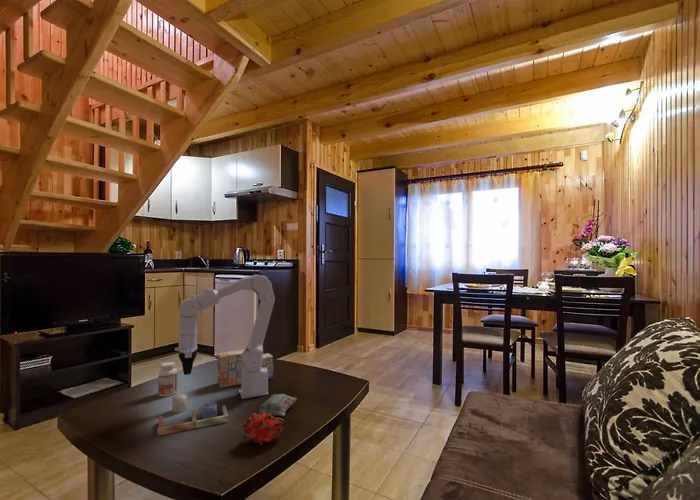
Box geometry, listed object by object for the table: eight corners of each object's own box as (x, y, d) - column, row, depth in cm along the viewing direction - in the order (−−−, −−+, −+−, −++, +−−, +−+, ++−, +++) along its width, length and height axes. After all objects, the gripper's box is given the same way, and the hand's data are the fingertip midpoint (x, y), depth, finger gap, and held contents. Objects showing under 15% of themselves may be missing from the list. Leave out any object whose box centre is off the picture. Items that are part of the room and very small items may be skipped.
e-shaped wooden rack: (225, 410, 114) (225, 404, 114) (228, 421, 106) (228, 415, 106) (159, 422, 105) (159, 416, 105) (157, 435, 97) (157, 429, 97)
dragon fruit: (237, 450, 93) (282, 448, 97) (242, 443, 87) (289, 441, 91) (241, 415, 98) (283, 415, 102) (245, 407, 92) (289, 407, 96)
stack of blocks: (269, 374, 150) (269, 346, 151) (273, 378, 145) (273, 349, 145) (217, 383, 140) (217, 352, 140) (219, 388, 134) (220, 356, 135)
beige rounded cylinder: (186, 406, 117) (186, 393, 117) (186, 411, 113) (187, 397, 113) (172, 409, 115) (172, 395, 115) (171, 414, 111) (172, 400, 111)
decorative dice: (202, 417, 109) (202, 404, 109) (216, 414, 111) (216, 402, 111) (202, 422, 106) (202, 409, 106) (216, 419, 107) (216, 406, 107)
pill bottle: (168, 389, 132) (168, 360, 133) (180, 391, 130) (181, 362, 131) (154, 395, 127) (154, 365, 127) (167, 397, 125) (167, 366, 125)
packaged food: (296, 406, 118) (296, 391, 118) (284, 421, 106) (283, 405, 106) (272, 404, 119) (272, 390, 119) (257, 420, 107) (257, 404, 108)
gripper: (175, 331, 124) (174, 369, 124) (174, 339, 111) (174, 382, 111) (196, 329, 127) (196, 366, 127) (198, 337, 114) (198, 378, 114)
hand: (187, 373), depth 119 cm, fingers closed
